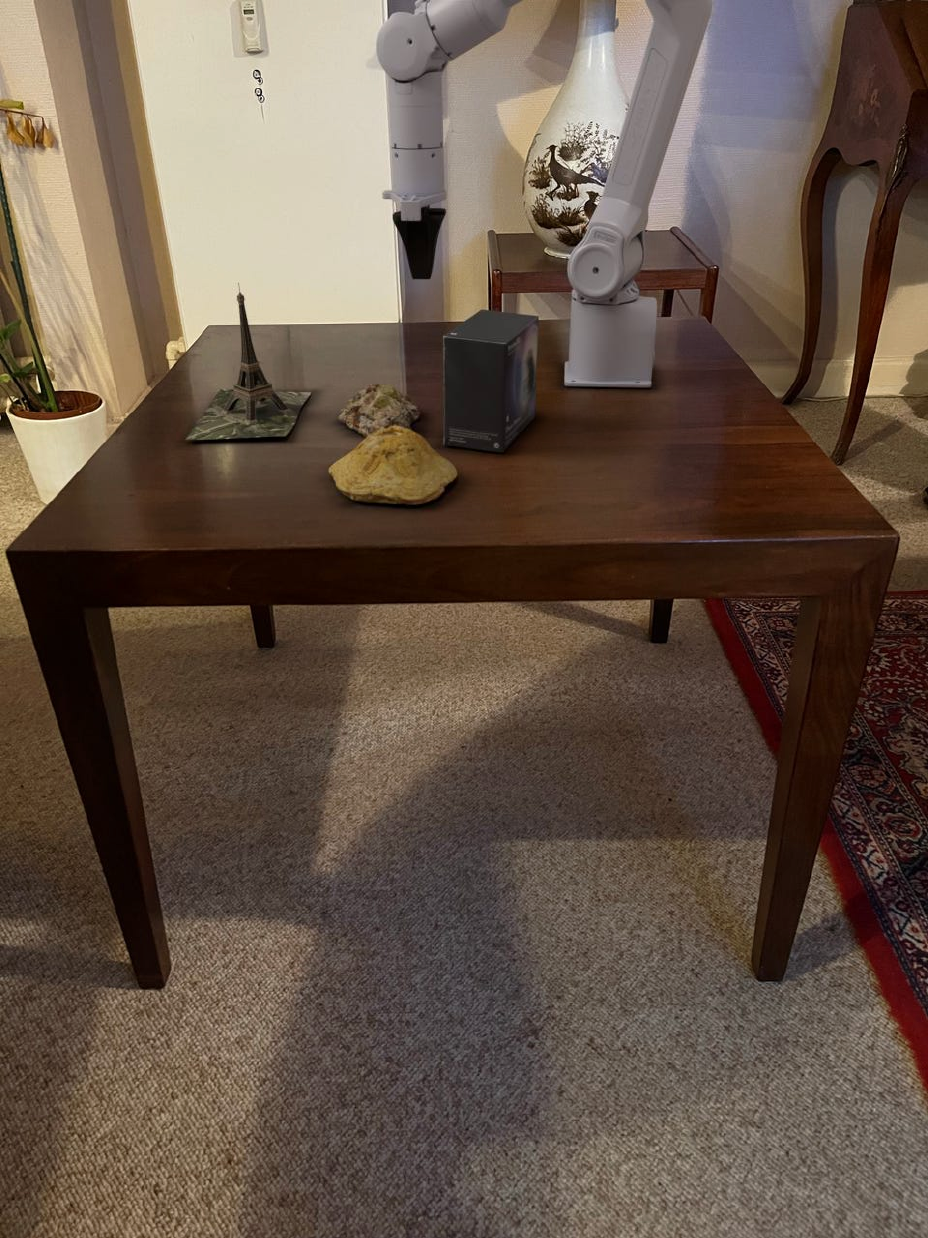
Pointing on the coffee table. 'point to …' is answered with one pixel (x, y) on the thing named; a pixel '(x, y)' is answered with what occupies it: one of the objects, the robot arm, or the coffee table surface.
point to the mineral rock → (378, 410)
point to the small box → (489, 379)
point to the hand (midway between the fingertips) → (421, 278)
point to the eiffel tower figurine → (249, 401)
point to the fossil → (393, 469)
